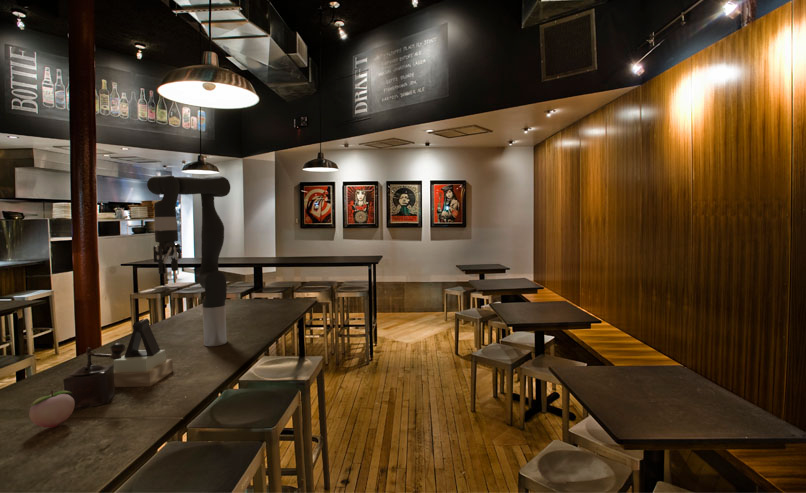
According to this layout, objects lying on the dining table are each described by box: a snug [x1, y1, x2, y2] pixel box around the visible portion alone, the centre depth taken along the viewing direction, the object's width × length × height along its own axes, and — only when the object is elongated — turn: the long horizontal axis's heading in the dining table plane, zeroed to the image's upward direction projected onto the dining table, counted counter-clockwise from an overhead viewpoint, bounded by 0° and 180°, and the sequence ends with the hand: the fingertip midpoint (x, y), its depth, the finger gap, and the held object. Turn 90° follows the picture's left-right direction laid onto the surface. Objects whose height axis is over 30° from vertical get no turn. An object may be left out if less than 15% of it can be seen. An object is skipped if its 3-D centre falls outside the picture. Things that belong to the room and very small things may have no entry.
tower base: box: [114, 358, 174, 388], centre depth 142 cm, size 14×14×5 cm
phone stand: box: [123, 318, 161, 358], centre depth 142 cm, size 9×6×12 cm, turn 100°
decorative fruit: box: [28, 390, 75, 429], centre depth 108 cm, size 9×8×10 cm
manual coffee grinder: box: [63, 342, 126, 410], centre depth 125 cm, size 16×11×18 cm
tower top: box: [113, 349, 167, 372], centre depth 142 cm, size 11×11×4 cm
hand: (168, 272), depth 153 cm, fingers open, 8 cm apart
